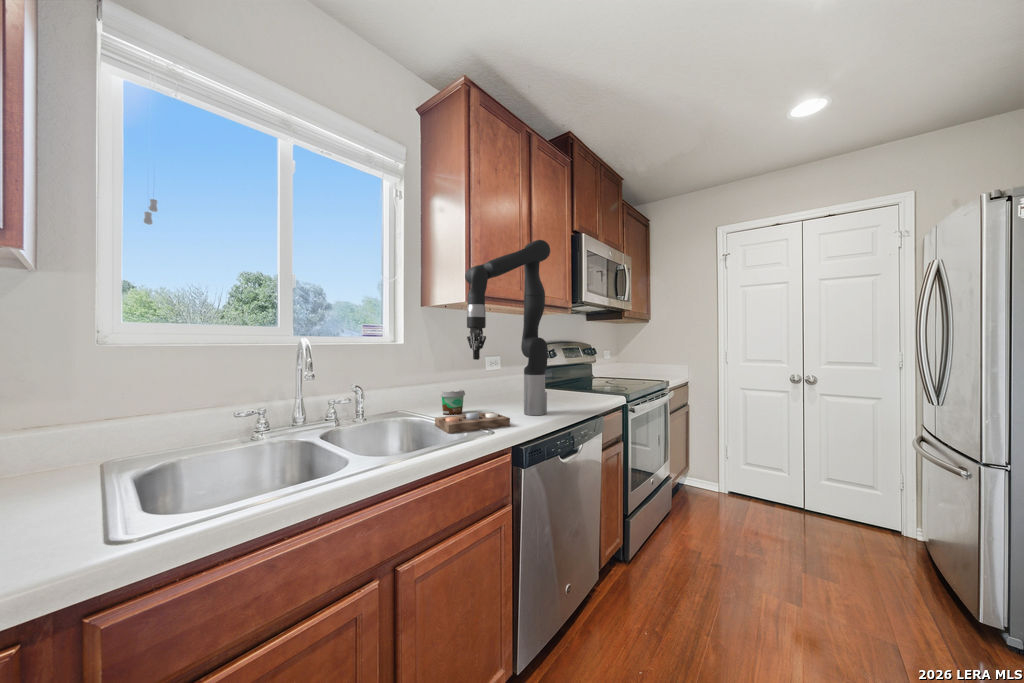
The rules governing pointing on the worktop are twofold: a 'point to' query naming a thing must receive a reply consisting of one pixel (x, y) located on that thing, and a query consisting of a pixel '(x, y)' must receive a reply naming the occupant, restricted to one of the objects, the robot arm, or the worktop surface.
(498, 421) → the button panel
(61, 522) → the worktop surface
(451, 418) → the terracotta button
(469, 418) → the slate button
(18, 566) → the worktop surface
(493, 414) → the cream button
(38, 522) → the worktop surface
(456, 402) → the food container
